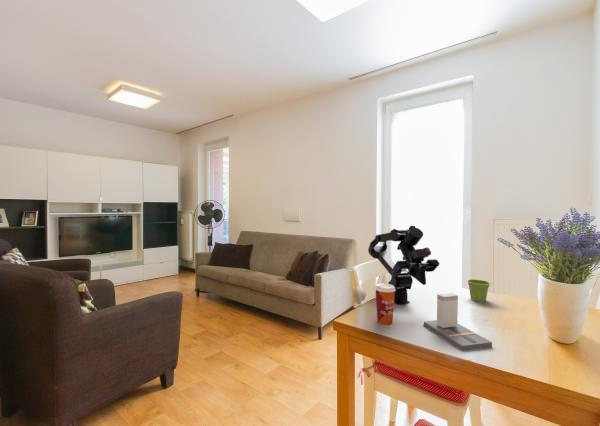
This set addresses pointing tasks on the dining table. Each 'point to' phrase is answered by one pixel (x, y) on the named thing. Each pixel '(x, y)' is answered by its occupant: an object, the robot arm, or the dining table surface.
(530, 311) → the dining table surface
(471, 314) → the dining table surface
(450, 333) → the fader console
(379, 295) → the paper cup
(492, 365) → the dining table surface
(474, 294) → the plant pot
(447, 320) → the fader handle
